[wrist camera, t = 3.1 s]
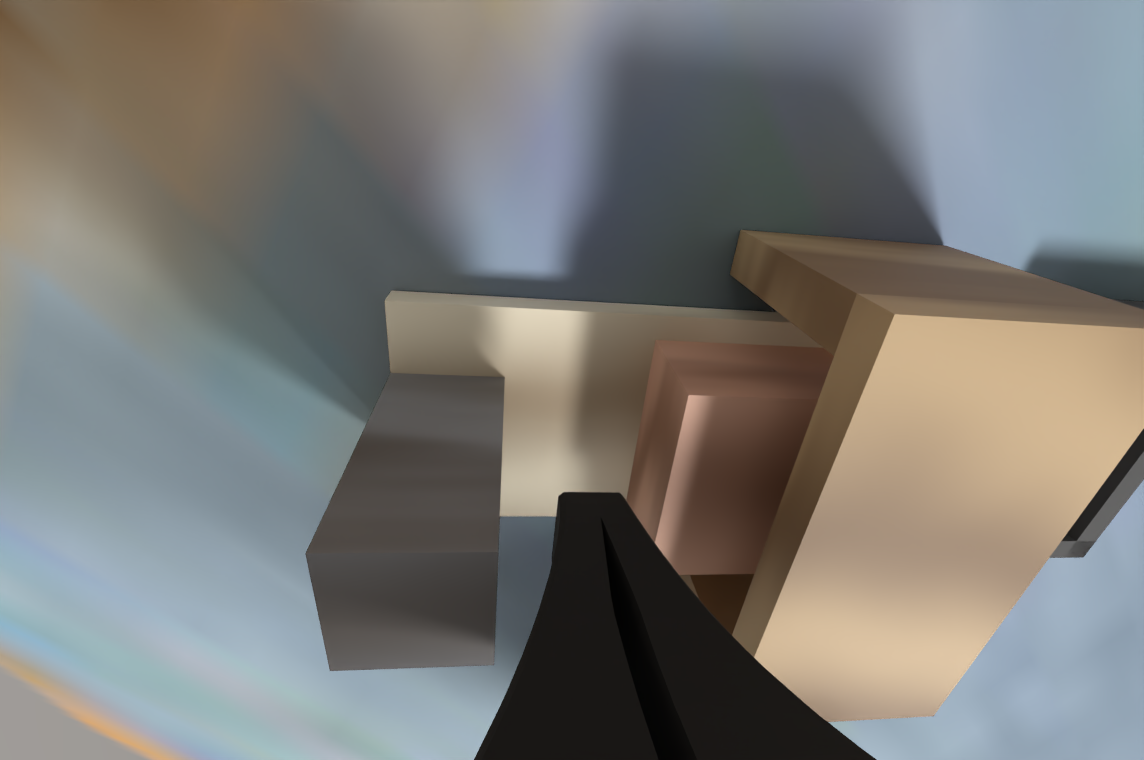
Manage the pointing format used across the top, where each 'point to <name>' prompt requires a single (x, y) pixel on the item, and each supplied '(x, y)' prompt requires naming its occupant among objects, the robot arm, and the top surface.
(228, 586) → the top surface
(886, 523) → the tunnel
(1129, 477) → the tray
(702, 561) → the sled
